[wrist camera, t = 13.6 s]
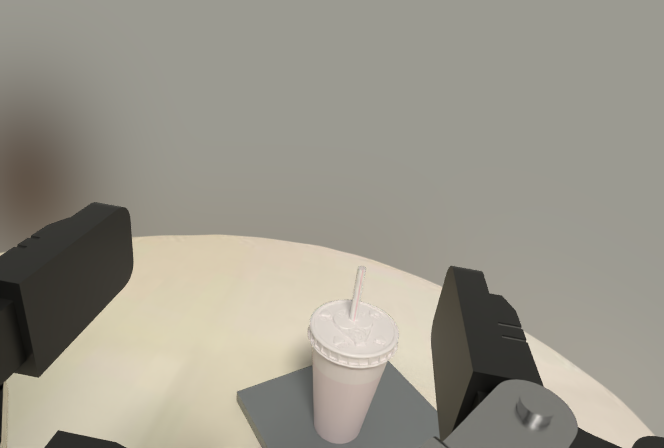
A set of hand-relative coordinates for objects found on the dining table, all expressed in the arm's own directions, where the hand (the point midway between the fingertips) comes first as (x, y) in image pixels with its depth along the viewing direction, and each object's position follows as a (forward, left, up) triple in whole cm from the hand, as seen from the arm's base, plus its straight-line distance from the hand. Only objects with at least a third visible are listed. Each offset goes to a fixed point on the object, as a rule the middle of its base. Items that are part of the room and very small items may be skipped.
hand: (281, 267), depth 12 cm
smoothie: (-12, +12, -24) cm, 29 cm away
